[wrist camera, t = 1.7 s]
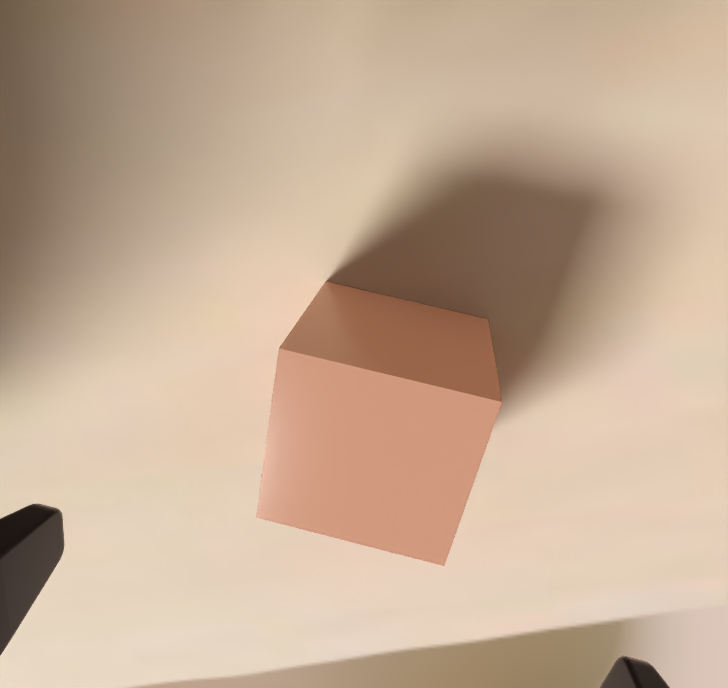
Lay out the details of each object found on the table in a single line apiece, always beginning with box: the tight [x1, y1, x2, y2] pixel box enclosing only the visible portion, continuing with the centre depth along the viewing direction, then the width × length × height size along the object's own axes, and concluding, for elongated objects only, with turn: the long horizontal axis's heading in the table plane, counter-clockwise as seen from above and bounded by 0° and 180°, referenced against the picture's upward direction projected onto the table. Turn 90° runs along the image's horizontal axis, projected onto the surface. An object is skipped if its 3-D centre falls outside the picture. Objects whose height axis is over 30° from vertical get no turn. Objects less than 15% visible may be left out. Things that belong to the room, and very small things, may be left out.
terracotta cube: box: [256, 282, 502, 566], centre depth 14 cm, size 4×4×4 cm
